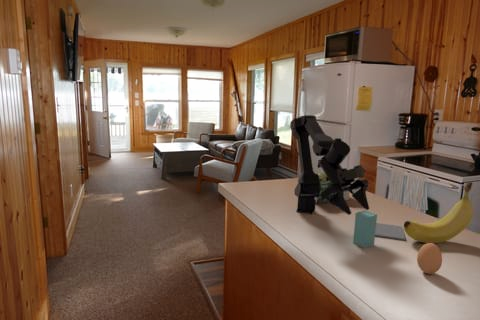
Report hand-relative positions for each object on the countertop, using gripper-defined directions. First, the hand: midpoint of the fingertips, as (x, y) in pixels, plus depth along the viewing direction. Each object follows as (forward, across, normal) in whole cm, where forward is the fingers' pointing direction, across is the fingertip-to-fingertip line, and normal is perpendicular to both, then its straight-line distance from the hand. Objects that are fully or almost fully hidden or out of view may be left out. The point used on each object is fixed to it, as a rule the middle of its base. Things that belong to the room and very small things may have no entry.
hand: (359, 211), depth 108 cm
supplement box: (-18, +36, +32) cm, 51 cm away
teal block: (+9, 0, +5) cm, 10 cm away
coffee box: (-17, +22, +31) cm, 42 cm away
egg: (+24, -1, -9) cm, 25 cm away
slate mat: (+7, +16, +7) cm, 18 cm away
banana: (+17, +22, -3) cm, 28 cm away
